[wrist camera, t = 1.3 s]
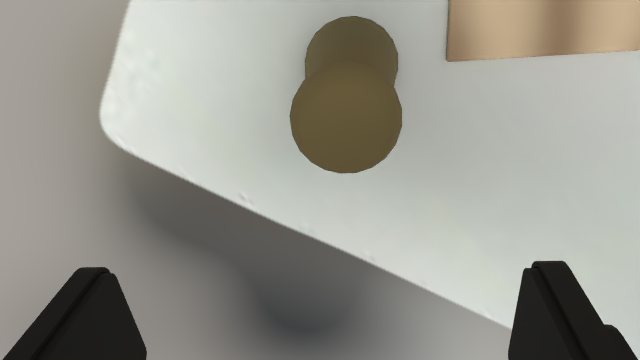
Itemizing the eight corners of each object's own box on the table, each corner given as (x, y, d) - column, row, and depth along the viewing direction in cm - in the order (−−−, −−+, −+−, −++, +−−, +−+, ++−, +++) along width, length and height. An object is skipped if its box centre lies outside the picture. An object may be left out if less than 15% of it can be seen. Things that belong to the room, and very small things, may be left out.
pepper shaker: (286, 49, 28) (247, 111, 19) (368, -4, 26) (370, 35, 17) (335, 124, 31) (322, 213, 21) (414, 80, 29) (439, 157, 19)
